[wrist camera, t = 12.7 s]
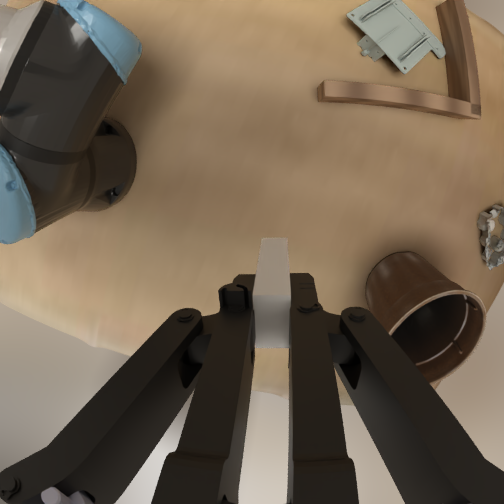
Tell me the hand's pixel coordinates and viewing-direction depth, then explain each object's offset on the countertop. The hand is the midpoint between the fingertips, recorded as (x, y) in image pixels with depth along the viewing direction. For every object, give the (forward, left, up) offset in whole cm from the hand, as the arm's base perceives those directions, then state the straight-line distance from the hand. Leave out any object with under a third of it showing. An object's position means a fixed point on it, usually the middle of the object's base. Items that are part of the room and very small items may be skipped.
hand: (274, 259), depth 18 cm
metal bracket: (+18, +24, -25) cm, 39 cm away
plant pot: (+20, -16, -25) cm, 36 cm away
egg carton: (+39, -7, -25) cm, 47 cm away
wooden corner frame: (+18, +22, -24) cm, 37 cm away
